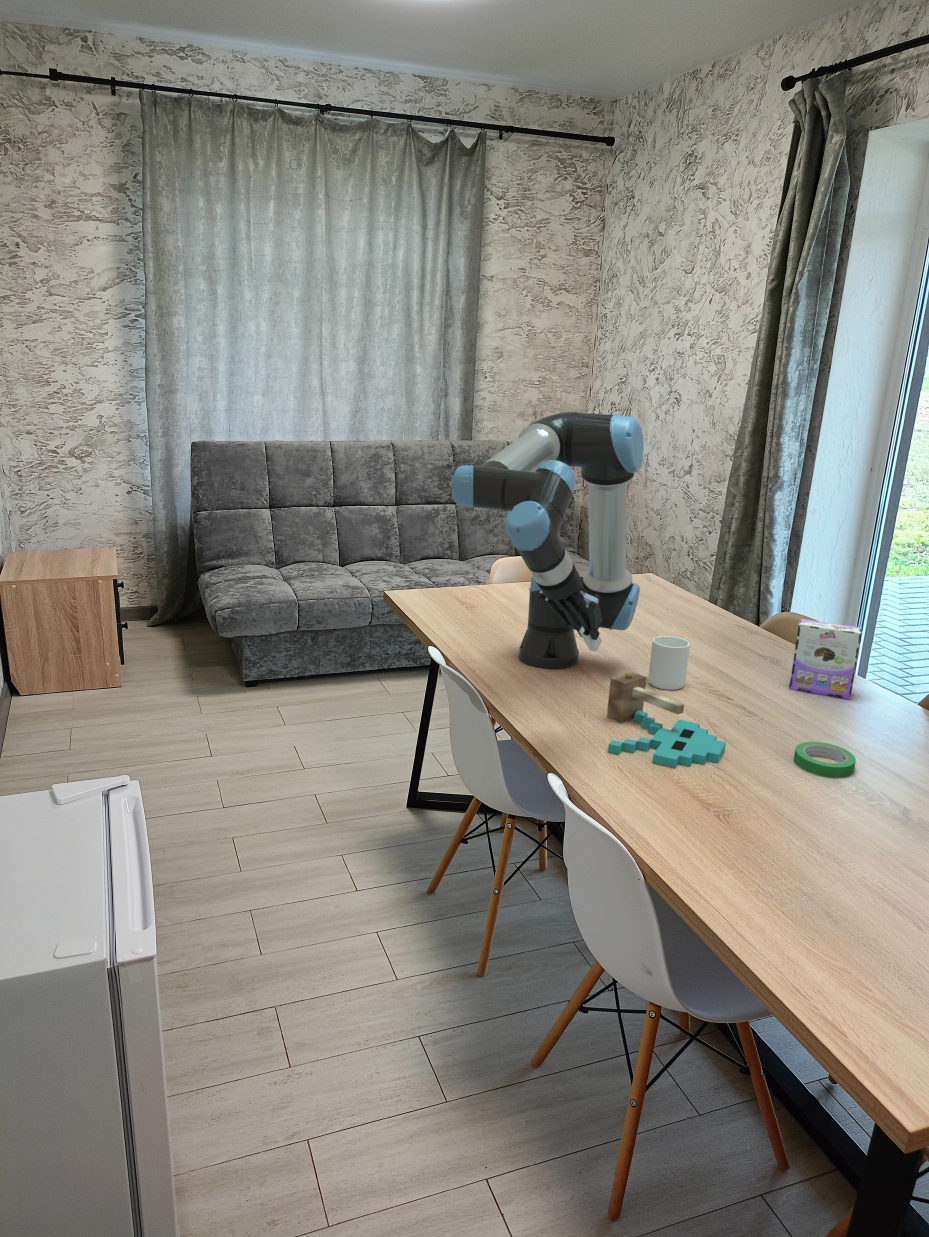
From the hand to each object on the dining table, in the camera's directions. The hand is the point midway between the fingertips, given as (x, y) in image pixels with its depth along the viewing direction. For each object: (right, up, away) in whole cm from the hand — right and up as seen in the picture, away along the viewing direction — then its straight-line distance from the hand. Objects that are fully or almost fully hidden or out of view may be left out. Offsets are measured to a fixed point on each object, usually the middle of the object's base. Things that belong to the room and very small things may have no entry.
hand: (595, 645), depth 181 cm
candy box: (+58, -12, +35) cm, 69 cm away
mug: (+22, -10, +36) cm, 44 cm away
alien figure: (+15, -21, +2) cm, 26 cm away
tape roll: (+44, -24, -4) cm, 50 cm away
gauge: (+12, -17, +10) cm, 23 cm away
